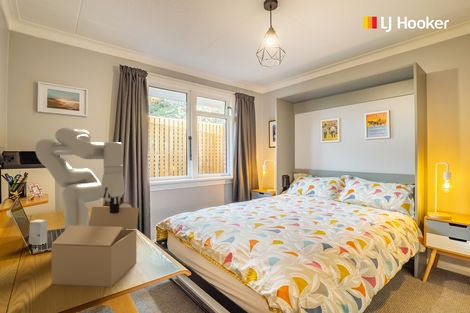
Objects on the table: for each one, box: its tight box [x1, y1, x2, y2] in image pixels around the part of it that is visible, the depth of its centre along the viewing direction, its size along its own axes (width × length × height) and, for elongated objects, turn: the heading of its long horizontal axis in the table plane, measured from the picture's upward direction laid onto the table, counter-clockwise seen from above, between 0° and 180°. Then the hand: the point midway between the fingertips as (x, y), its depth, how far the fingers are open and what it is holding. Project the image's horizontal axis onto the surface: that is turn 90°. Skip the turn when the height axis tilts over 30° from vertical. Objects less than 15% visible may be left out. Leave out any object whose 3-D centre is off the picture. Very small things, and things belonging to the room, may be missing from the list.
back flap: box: [89, 206, 140, 230], centre depth 101 cm, size 21×9×1 cm
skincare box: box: [28, 219, 48, 246], centre depth 117 cm, size 6×4×12 cm
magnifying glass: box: [119, 201, 134, 230], centre depth 125 cm, size 9×2×20 cm, turn 135°
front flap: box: [51, 225, 123, 246], centre depth 85 cm, size 21×9×1 cm, turn 87°
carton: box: [51, 229, 137, 288], centre depth 91 cm, size 22×18×14 cm
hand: (114, 212), depth 100 cm, fingers closed
